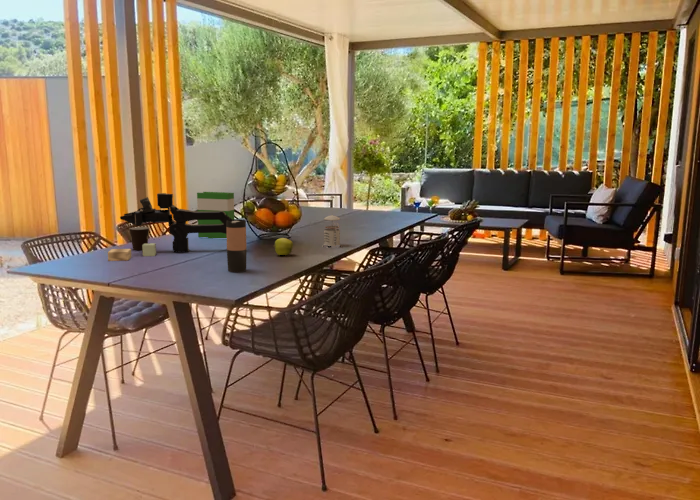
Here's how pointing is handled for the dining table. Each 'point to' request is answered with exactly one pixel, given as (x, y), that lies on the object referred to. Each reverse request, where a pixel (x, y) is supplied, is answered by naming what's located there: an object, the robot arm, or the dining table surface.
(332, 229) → the french press
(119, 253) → the oak block
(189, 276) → the dining table surface
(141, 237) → the coffee mug
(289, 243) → the apple
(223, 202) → the cereal box
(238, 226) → the travel mug
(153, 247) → the yellow cube
